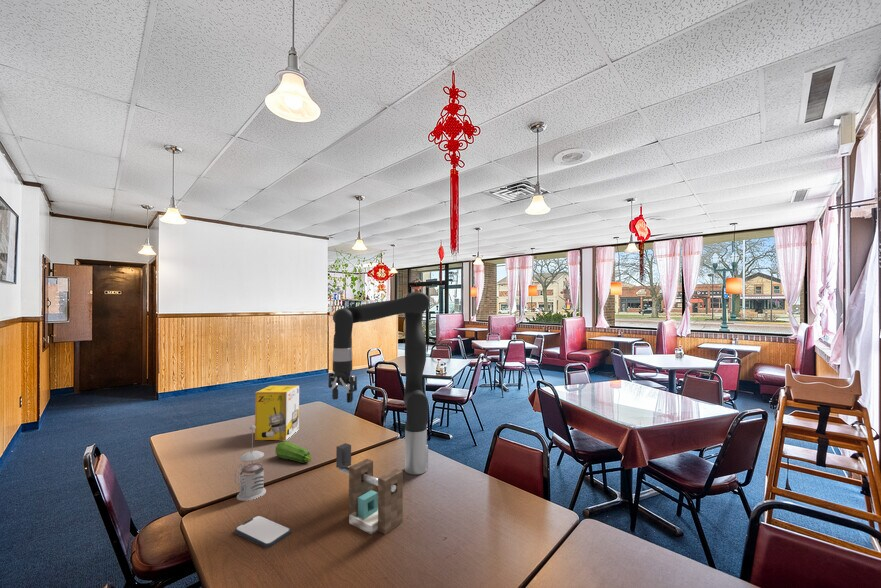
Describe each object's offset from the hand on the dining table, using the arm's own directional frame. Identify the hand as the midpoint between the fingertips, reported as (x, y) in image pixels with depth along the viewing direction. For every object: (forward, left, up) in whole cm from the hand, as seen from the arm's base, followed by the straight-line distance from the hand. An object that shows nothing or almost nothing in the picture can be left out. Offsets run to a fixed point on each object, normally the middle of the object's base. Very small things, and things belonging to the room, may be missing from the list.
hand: (342, 400), depth 142 cm
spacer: (+9, +24, -32) cm, 41 cm away
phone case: (+34, +5, -33) cm, 47 cm away
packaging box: (-15, -71, -32) cm, 79 cm away
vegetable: (-2, -36, -32) cm, 48 cm away
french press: (+25, -21, -32) cm, 46 cm away
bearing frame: (+9, +27, -32) cm, 43 cm away
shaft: (+9, +23, -21) cm, 33 cm away
